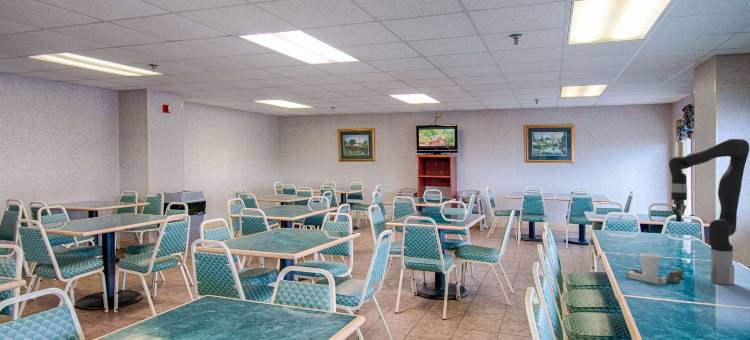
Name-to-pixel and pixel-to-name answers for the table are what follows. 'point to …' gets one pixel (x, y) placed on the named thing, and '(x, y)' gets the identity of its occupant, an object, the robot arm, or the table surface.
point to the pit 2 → (673, 279)
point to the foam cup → (650, 264)
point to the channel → (675, 273)
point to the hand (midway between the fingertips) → (678, 221)
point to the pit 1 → (636, 271)
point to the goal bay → (646, 278)
